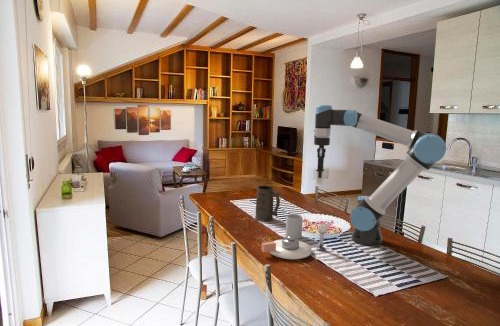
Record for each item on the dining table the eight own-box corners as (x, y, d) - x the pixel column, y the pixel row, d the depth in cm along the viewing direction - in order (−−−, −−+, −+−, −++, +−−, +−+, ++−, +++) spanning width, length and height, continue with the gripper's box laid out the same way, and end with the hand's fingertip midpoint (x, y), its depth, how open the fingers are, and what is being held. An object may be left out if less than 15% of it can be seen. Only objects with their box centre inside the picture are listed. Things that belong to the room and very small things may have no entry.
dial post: (325, 248, 168) (327, 223, 166) (325, 251, 164) (327, 225, 162) (316, 247, 169) (318, 222, 167) (315, 250, 165) (317, 224, 163)
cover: (293, 242, 168) (293, 232, 167) (302, 248, 160) (302, 238, 160) (278, 245, 164) (279, 235, 163) (287, 251, 157) (288, 240, 156)
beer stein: (251, 219, 210) (254, 187, 206) (257, 214, 219) (260, 184, 216) (275, 225, 204) (279, 192, 201) (281, 219, 214) (284, 188, 211)
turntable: (296, 240, 175) (296, 230, 175) (319, 255, 157) (320, 244, 157) (253, 246, 165) (253, 236, 165) (273, 263, 148) (273, 252, 147)
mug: (304, 238, 181) (305, 218, 179) (289, 240, 178) (290, 219, 176) (293, 230, 192) (294, 211, 190) (279, 232, 189) (280, 212, 187)
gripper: (315, 135, 178) (313, 181, 182) (313, 137, 166) (310, 186, 169) (330, 136, 176) (327, 182, 180) (329, 138, 164) (326, 187, 167)
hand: (319, 184), depth 175 cm, fingers closed
